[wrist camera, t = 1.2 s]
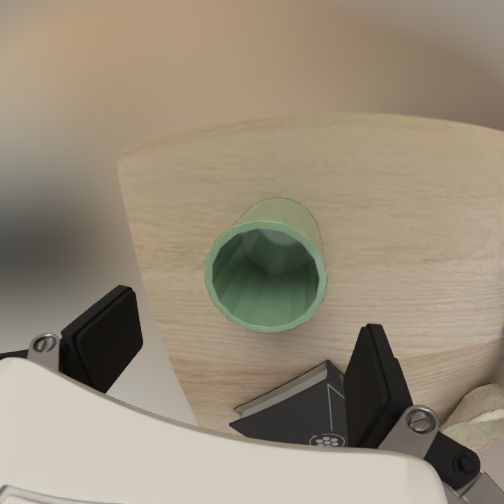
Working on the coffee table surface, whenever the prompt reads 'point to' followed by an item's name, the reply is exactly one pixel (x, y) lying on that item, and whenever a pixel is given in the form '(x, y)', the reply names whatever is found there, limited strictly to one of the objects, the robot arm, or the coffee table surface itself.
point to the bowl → (478, 417)
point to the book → (299, 411)
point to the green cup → (268, 267)
